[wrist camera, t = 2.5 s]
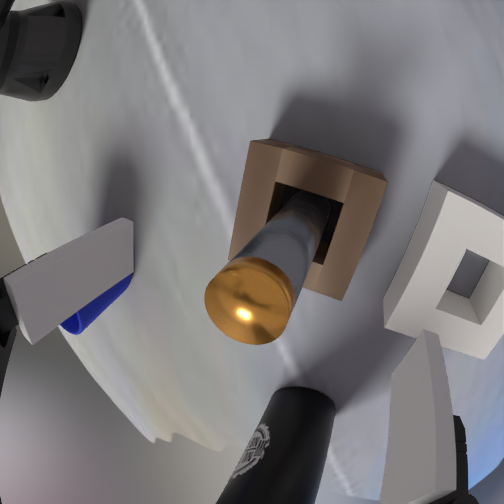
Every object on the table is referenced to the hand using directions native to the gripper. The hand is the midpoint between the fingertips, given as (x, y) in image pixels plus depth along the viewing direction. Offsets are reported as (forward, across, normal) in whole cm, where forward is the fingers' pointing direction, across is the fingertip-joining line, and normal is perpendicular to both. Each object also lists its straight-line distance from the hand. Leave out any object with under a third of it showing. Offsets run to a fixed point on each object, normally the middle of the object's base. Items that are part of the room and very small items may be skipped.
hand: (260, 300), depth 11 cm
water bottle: (+13, +7, -24) cm, 28 cm away
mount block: (+13, 0, 0) cm, 13 cm away
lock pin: (+13, 0, 0) cm, 13 cm away
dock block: (+13, +14, 0) cm, 19 cm away
